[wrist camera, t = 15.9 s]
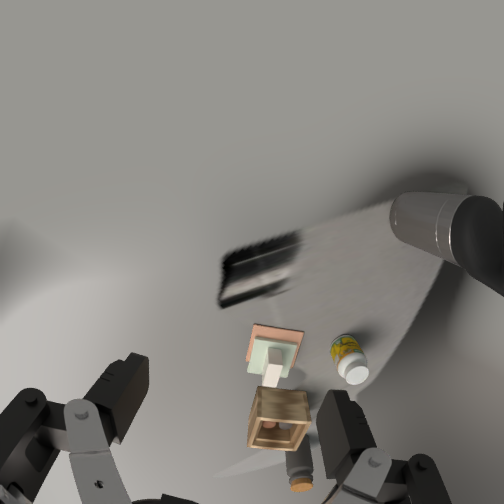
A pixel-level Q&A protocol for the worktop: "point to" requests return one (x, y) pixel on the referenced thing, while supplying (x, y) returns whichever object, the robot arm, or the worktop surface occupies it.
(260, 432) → the crate
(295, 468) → the bottle
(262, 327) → the plate
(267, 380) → the lid
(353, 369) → the supplement bottle
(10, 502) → the robot arm
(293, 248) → the worktop surface
